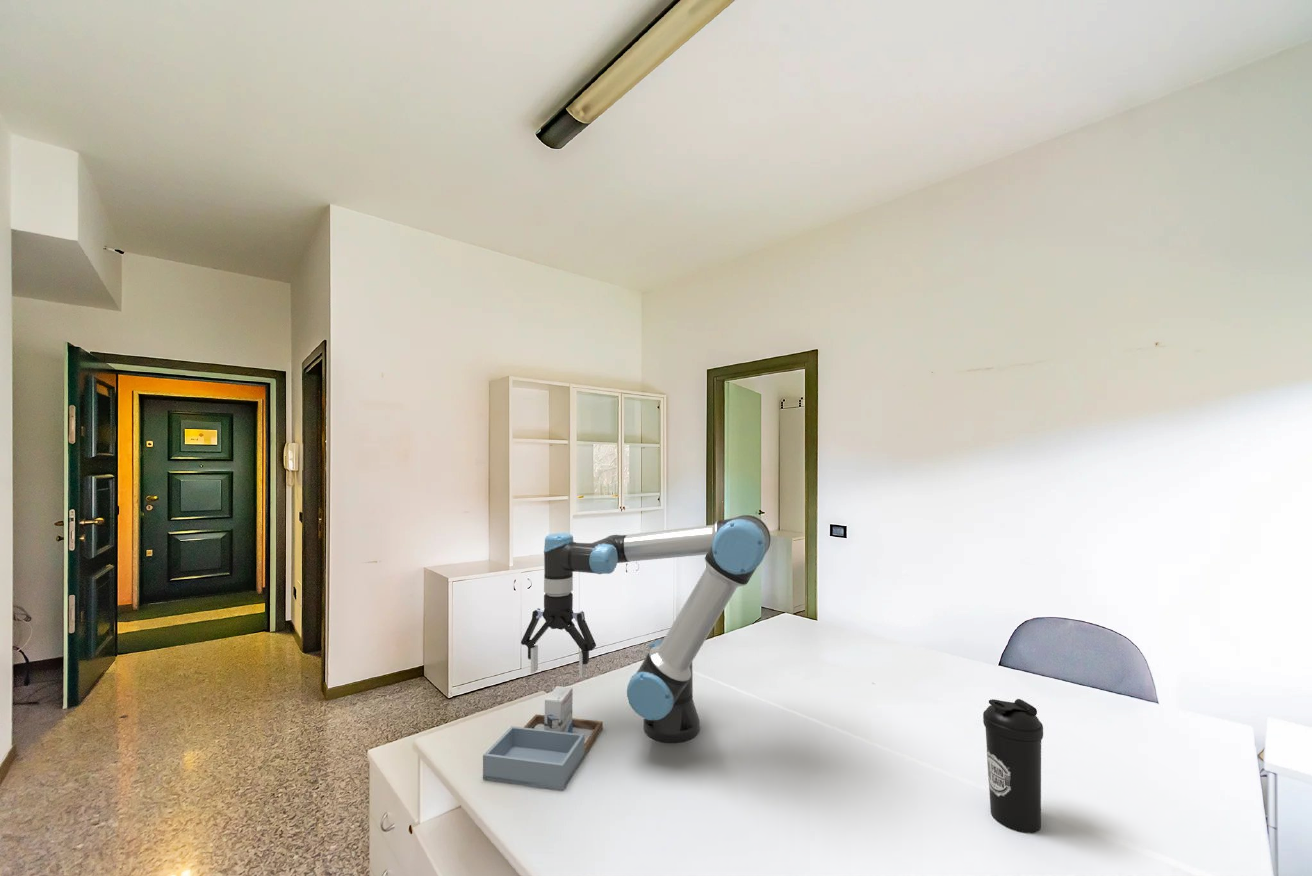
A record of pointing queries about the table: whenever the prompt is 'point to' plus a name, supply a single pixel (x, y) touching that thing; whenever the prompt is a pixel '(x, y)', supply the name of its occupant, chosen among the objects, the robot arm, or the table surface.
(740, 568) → the robot arm
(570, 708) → the ink box
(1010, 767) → the water bottle
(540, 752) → the grey bin
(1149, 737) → the table surface
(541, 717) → the walnut frame
